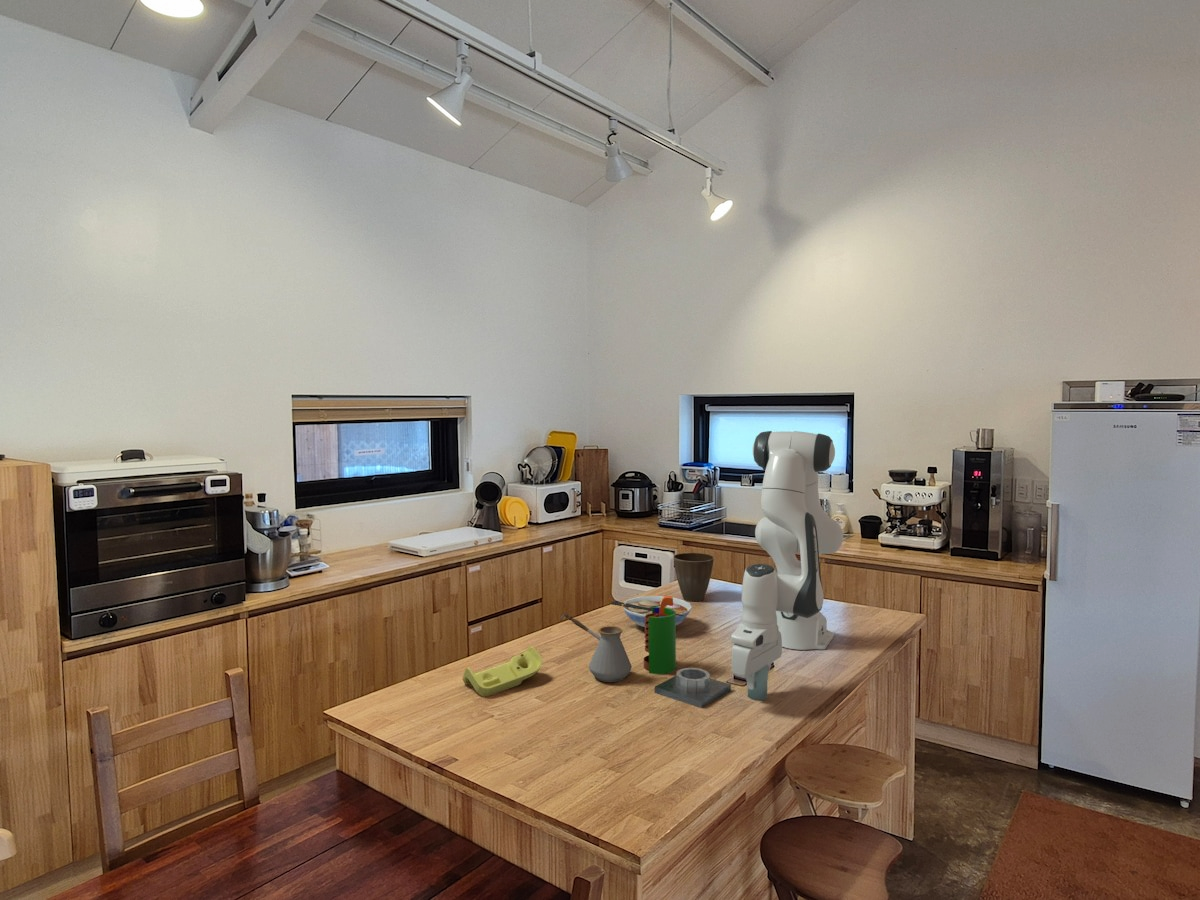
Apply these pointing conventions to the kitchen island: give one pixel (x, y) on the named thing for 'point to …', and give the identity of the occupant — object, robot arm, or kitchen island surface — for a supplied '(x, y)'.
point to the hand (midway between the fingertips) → (757, 684)
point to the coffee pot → (607, 654)
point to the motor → (661, 638)
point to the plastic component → (505, 673)
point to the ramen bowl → (643, 606)
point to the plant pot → (693, 574)
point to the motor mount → (693, 687)
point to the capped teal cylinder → (759, 685)
